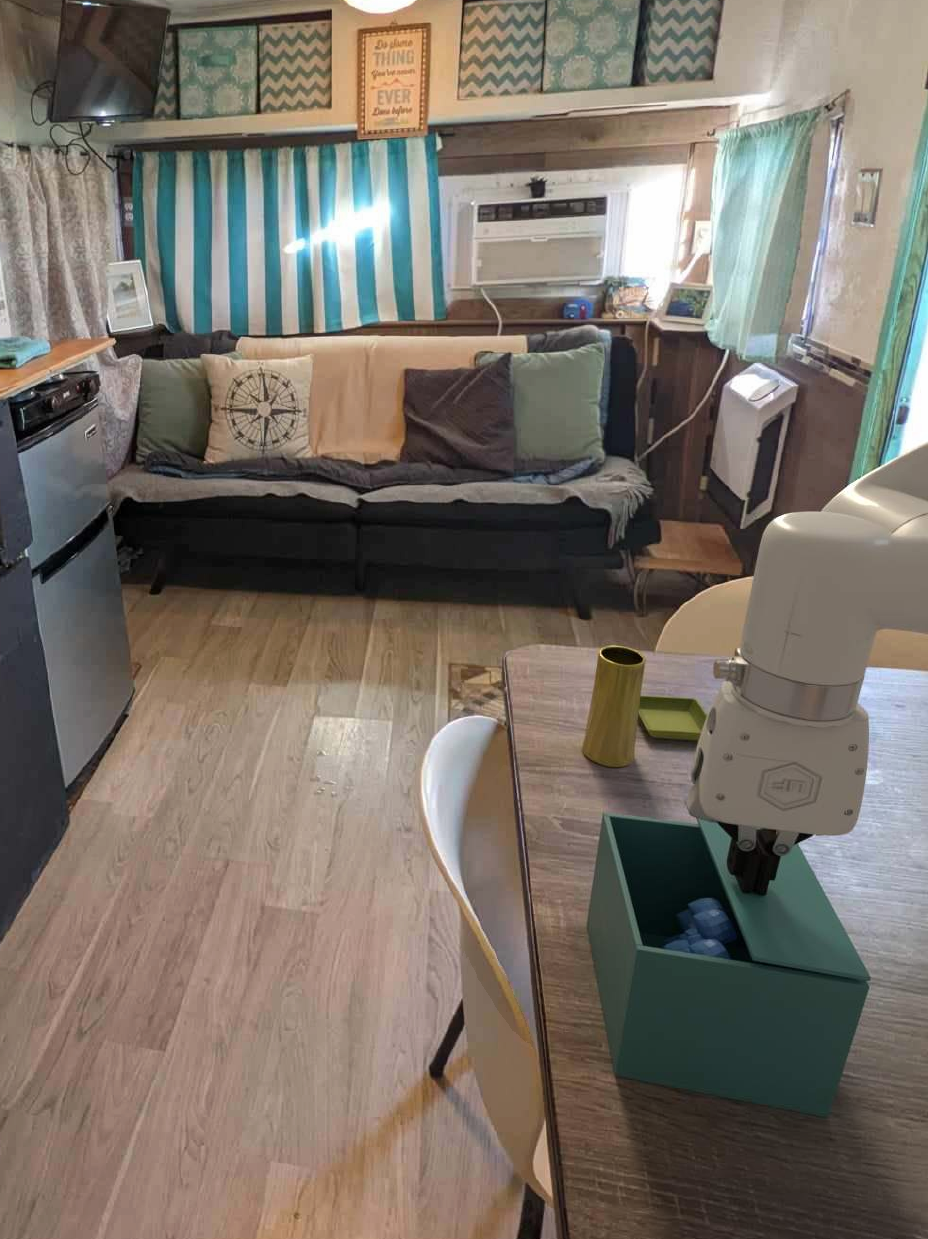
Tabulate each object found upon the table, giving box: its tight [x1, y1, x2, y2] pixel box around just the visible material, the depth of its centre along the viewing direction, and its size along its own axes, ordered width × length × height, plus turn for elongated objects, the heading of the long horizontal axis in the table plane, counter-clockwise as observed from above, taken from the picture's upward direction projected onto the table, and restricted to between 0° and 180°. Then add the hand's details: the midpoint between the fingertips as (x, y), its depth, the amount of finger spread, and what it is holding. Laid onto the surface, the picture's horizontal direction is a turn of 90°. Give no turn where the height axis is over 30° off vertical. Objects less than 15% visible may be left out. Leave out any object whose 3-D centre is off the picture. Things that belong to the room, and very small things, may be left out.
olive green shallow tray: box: [638, 694, 708, 742], centre depth 112 cm, size 9×9×2 cm
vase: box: [581, 645, 647, 768], centre depth 105 cm, size 6×6×14 cm
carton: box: [586, 812, 870, 1119], centre depth 70 cm, size 15×16×14 cm
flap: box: [695, 817, 872, 982], centre depth 67 cm, size 7×16×1 cm, turn 165°
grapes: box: [663, 898, 738, 960], centre depth 69 cm, size 12×7×12 cm, turn 143°
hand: (747, 881), depth 67 cm, fingers closed
